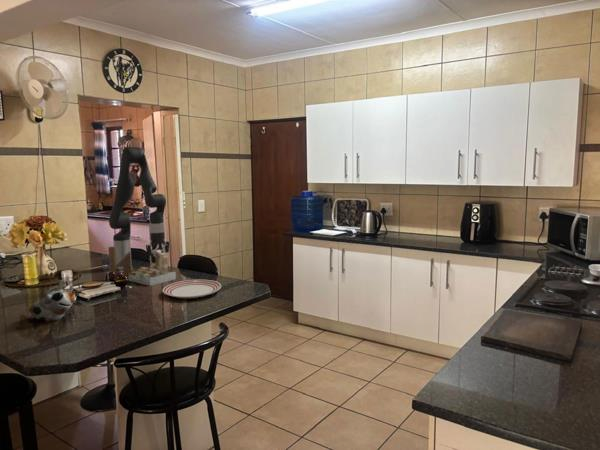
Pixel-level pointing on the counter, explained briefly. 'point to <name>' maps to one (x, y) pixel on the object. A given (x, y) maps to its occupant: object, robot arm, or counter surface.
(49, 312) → the lucky cat figurine
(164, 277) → the rack
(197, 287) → the dinner plate
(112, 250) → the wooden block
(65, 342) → the counter surface
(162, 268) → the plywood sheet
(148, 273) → the offcut stack
